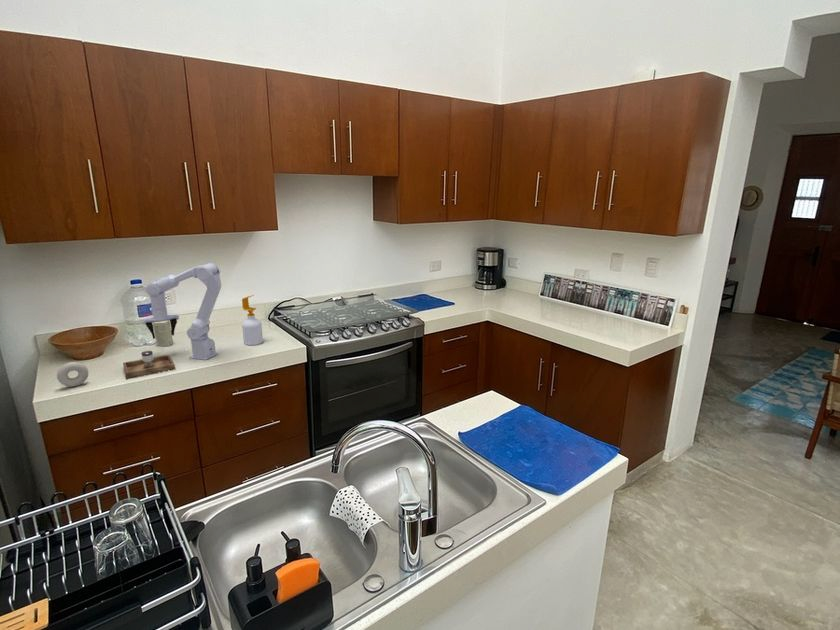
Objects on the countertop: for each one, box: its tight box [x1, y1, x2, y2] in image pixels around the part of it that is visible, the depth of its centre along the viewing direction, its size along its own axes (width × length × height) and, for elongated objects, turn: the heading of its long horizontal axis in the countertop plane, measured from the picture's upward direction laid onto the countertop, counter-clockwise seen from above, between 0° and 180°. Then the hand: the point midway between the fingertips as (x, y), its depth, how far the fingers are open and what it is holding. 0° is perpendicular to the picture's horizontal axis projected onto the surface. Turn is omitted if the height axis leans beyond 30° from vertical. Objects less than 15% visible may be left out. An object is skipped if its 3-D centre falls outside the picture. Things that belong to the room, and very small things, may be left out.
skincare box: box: [152, 320, 174, 347], centre depth 224 cm, size 6×4×12 cm
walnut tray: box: [122, 354, 176, 380], centre depth 196 cm, size 18×14×2 cm
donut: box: [56, 361, 89, 388], centre depth 178 cm, size 10×3×10 cm, turn 133°
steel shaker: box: [141, 350, 155, 369], centre depth 196 cm, size 4×4×7 cm
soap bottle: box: [241, 294, 264, 346], centre depth 227 cm, size 9×9×25 cm
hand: (163, 336), depth 209 cm, fingers open, 7 cm apart
